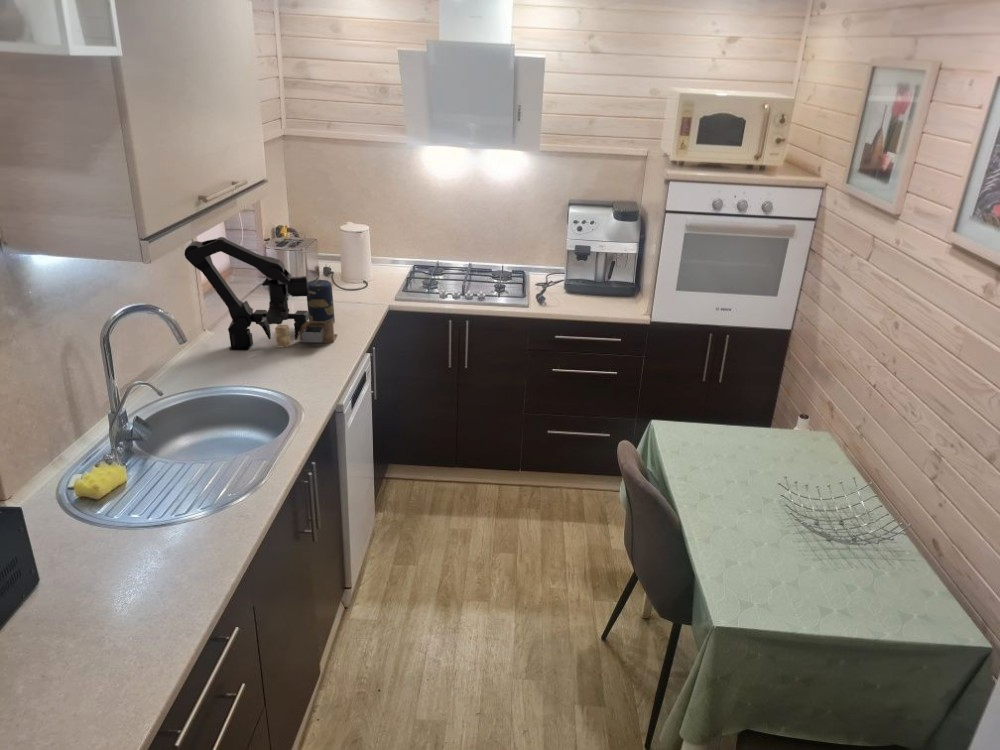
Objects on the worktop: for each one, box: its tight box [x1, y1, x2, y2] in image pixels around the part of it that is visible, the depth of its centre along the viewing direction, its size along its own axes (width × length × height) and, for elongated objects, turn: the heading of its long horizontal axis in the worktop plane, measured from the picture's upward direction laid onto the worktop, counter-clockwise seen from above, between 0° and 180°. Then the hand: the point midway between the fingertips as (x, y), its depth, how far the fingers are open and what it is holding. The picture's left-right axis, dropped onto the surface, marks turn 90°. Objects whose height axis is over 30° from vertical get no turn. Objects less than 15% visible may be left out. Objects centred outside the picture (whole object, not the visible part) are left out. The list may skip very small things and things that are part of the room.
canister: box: [306, 278, 336, 325], centre depth 263 cm, size 10×10×18 cm
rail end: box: [274, 324, 291, 347], centre depth 246 cm, size 4×4×7 cm
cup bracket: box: [299, 320, 338, 343], centre depth 249 cm, size 12×13×8 cm
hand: (283, 339), depth 247 cm, fingers open, 9 cm apart
